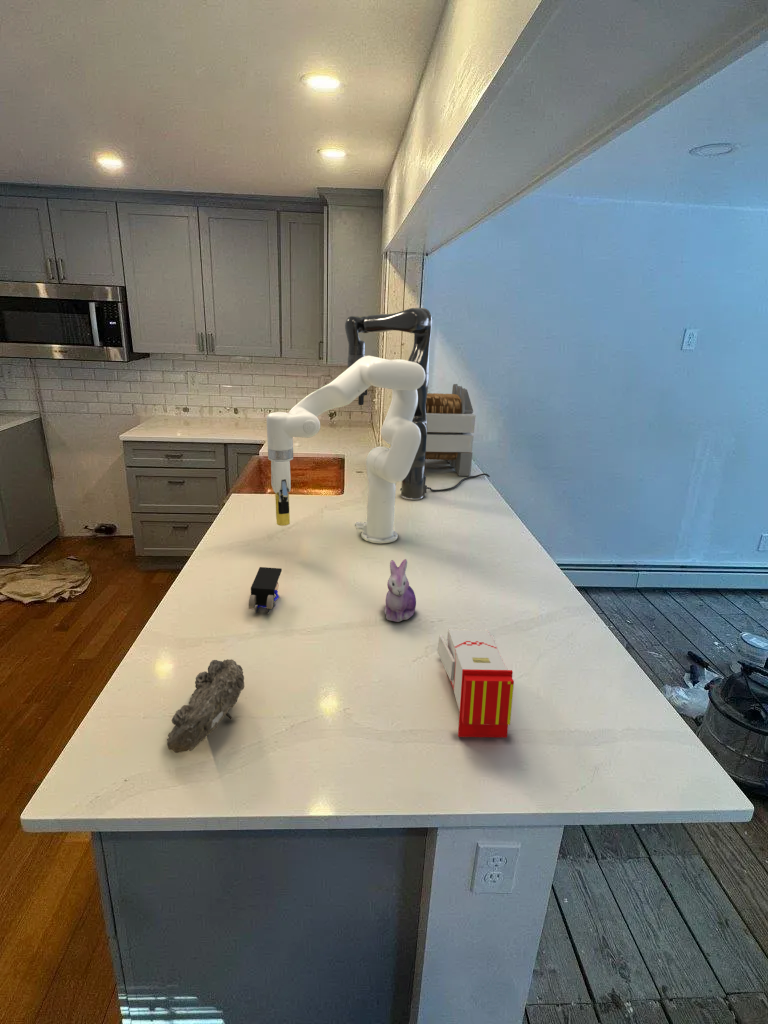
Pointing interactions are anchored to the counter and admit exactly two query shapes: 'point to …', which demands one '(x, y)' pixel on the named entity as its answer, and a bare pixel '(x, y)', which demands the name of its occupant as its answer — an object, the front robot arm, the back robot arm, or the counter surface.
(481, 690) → the toy
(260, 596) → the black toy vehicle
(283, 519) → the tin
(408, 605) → the figurine
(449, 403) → the transformer
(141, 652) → the counter surface
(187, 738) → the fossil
